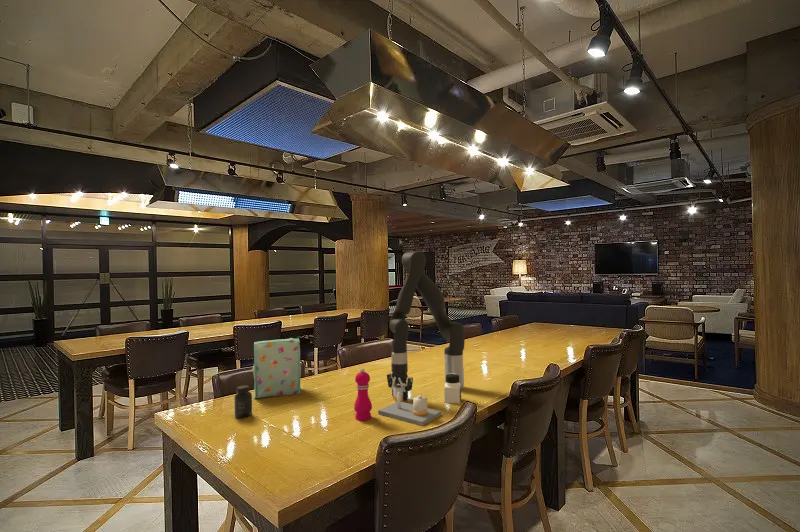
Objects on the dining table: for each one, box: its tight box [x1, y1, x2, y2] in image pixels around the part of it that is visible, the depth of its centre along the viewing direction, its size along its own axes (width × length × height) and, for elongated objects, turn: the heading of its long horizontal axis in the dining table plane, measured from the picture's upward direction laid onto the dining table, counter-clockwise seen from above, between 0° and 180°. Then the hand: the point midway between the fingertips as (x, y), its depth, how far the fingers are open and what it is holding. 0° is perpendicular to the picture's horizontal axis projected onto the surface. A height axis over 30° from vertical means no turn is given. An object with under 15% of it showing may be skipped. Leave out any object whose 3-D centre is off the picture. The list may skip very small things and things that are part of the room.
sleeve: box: [392, 384, 406, 402], centre depth 181 cm, size 6×6×6 cm
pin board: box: [377, 392, 442, 426], centre depth 161 cm, size 14×22×9 cm, turn 52°
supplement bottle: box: [233, 384, 253, 419], centre depth 163 cm, size 7×7×12 cm
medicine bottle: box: [443, 373, 462, 405], centre depth 178 cm, size 7×7×12 cm
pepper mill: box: [353, 367, 373, 422], centre depth 158 cm, size 7×7×20 cm
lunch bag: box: [252, 337, 302, 399], centre depth 194 cm, size 23×16×27 cm
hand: (400, 398), depth 181 cm, fingers closed on sleeve, 5 cm apart
